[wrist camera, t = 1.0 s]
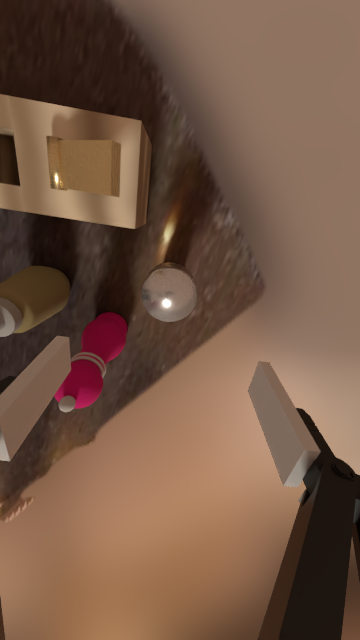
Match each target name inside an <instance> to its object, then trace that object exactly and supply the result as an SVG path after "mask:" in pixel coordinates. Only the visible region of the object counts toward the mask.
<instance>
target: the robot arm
mask: <svg viewBox="0 0 360 640" xmlns="http://www.w3.org/2000/svg"><path fill="white" fill-rule="evenodd" d="M70 371H71V361H70V347H69V337H63V336H56V337H55V339H54V340H53V341H52V342H51V343H50V344H49V345H48V346H47V347H46V348H45V349H44V350H43V351H42V352H41V353H40V354H39V355H38V356H37V357H36V358H35V359H34V360H33V361H32V362H31V363H30V365H29V366H28V367H27V368H26V369H25V370H24V371H23V372H22V373H21V374H20V375H19V376H18V377H13V376H8V377H7V378H5V379H3V380H1V381H0V460H3V461H10V460H11V459H12V457H13V456H14V454H15V453H16V452H17V450H18V449H19V447H20V446H21V444H22V443H23V441H24V440H25V438H26V437H27V435H28V434H29V432H30V431H31V429H32V428H33V426H34V425H35V423H36V422H37V420H38V419H39V417H40V416H41V414H42V413H43V411H44V410H45V408H46V407H47V405H48V404H49V402H50V401H51V399H52V398H53V396H54V395H55V393H56V392H57V390H58V389H59V387H60V386H61V384H62V383H63V381H64V380H65V378H66V377H67V376H68V374H69V373H70ZM248 392H249V395H250V398H251V400H252V403H253V405H254V408H255V411H256V413H257V416H258V419H259V422H260V424H261V427H262V430H263V432H264V435H265V438H266V441H267V443H268V446H269V449H270V451H271V454H272V457H273V459H274V462H275V465H276V467H277V470H278V473H279V476H280V478H281V481H282V483H283V486H291V487H298V486H299V485H300V483H301V482H302V480H303V481H304V484H305V486H306V490H305V491H304V493H303V494H302V496H301V497H300V499H299V500H298V501H299V502H301V503H300V507H299V509H298V513H297V516H296V519H295V522H294V525H293V529H292V532H291V535H290V538H289V541H288V544H287V548H286V551H285V554H284V557H283V560H282V564H281V567H280V570H279V573H278V576H277V579H276V583H275V586H274V589H273V593H272V596H271V599H270V602H269V605H268V608H267V611H266V614H265V618H264V621H263V624H262V627H261V630H260V633H259V637H258V640H341V634H342V625H343V615H344V606H345V596H346V587H347V577H348V568H349V558H350V548H351V539H352V537H353V544H354V550H355V556H356V562H357V569H358V575H359V581H360V475H357V474H355V472H354V471H353V470H352V468H351V467H350V466H349V465H348V464H346V463H345V462H344V461H342V460H340V459H338V458H336V457H335V456H334V454H333V452H332V451H331V449H330V448H329V446H328V444H327V443H326V441H325V440H324V438H323V436H322V435H321V433H320V432H319V430H318V428H317V427H316V426H315V423H314V422H313V420H312V419H311V417H310V416H309V415H308V414H307V413H306V412H305V411H304V410H303V409H299V408H295V406H294V405H293V403H292V401H291V399H290V398H289V396H288V394H287V393H286V391H285V389H284V387H283V386H282V384H281V382H280V381H279V379H278V377H277V375H276V373H275V372H274V370H273V368H272V366H271V365H270V363H268V362H261V361H259V362H258V365H257V367H256V370H255V373H254V376H253V378H252V382H251V384H250V387H249V390H248ZM0 640H5V634H4V625H3V616H2V608H1V599H0Z"/></svg>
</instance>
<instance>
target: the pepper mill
mask: <svg viewBox="0 0 360 640" xmlns="http://www.w3.org/2000/svg"><path fill="white" fill-rule="evenodd" d="M127 329H128V327H127V324H126V322H125V320H124V319H123V318H122V317H121V316H120V315H118V314H116V313H112V312H105V313H102V314H100V315H99V316H98V317H97V318H96V319H95V320H94V321H92V322H90V323H89V324H88V325H87V326H86V328H85V329H84V331H83V334H82V340H81V344H82V350H81V352H80V353H78V354H76V355H75V356H73V358H72V359H71V371H70V373H69V374H68V376H67V377H66V378H65V380H64V381H63V383H62V384H61V386H60V387H59V389H58V390H57V392H56V393H55V395H54V397H55V398H56V400H57V401H58V402H59V408H60V410H61V411H63V412H69V411H71V410H72V409H73V408H83V407H86V406H89V405H90V404H92V403H93V402H94V401H95V400H96V399H97V398H98V397H99V395H100V393H101V391H102V388H103V377H104V375H105V373H106V363H107V362H108V361H110V360H112V359H113V358H115V357H116V356H117V355H118V354H119V353H120V352H121V351H122V350H123V348H124V346H125V343H126V334H127Z"/></svg>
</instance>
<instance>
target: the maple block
mask: <svg viewBox="0 0 360 640" xmlns="http://www.w3.org/2000/svg"><path fill="white" fill-rule="evenodd" d="M46 136H54V137H58V138H61V139H63V140H113V141H115V142H118V143H120V144H121V163H120V196H119V197H114V196H108V195H102V194H96V193H89V192H83V191H77V190H71V189H67V191H64V190H58V189H52V188H50V177H49V165H48V153H47V142H46ZM151 152H152V144H151V142H150V140H149V137H148V135H147V133H146V130H145V128H144V126H143V123H142V121H140V120H135V119H130V118H124V117H119V116H114V115H108V114H103V113H98V112H93V111H87V110H82V109H77V108H71V107H66V106H61V105H56V104H50V103H45V102H40V101H34V100H29V99H24V98H19V97H13V96H8V95H3V94H0V208H4V209H10V210H17V211H23V212H29V213H36V214H42V215H49V216H55V217H61V218H68V219H74V220H80V221H87V222H93V223H100V224H106V225H112V226H119V227H125V228H131V229H136V228H138V227H140V226H142V225H144V224H146V216H147V204H148V191H149V178H150V165H151Z"/></svg>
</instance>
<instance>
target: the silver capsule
mask: <svg viewBox="0 0 360 640" xmlns="http://www.w3.org/2000/svg"><path fill="white" fill-rule="evenodd" d="M196 300H197V293H196V287H195V283H194V279H193V276H192V274H191V273H190V272H189V270H188V269H187V268H185V267H184V266H182V265H180V264H178V263H176V262H167V263H162V264H160V265H158V266H156V267H155V268H153V269H152V270H151V272H150V273H149V275H148V277H147V279H146V281H145V283H144V286H143V289H142V302H143V305H144V307H145V308H146V310H147V311H148V312H149V313H150V314H151V315H152V316H153V317H155V318H157V319H159V320H162V321H167V322H173V321H178V320H181V319H183V318H184V317H186V316H187V315H189V314H190V313H191V311H192V310H193V308H194V306H195V304H196Z"/></svg>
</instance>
